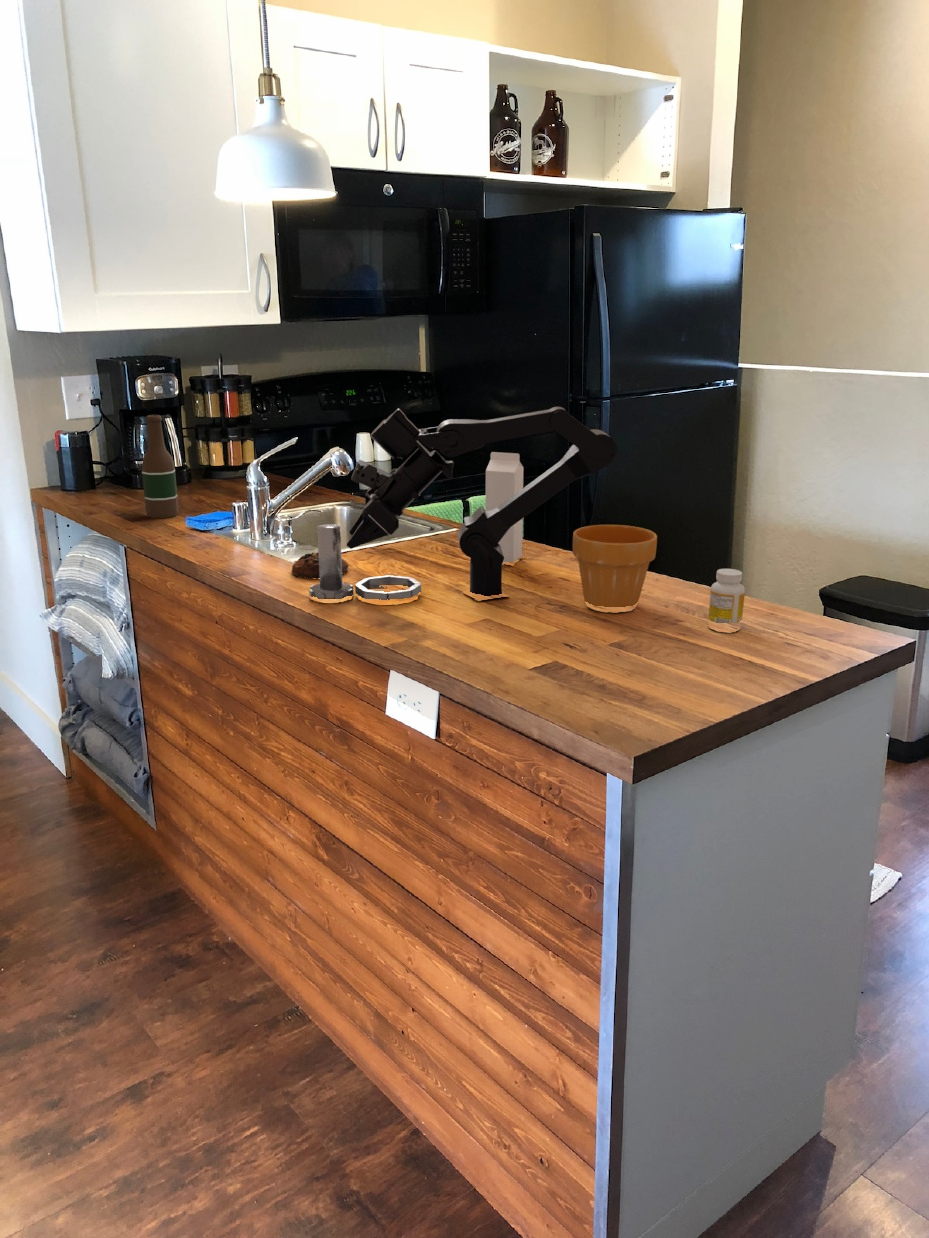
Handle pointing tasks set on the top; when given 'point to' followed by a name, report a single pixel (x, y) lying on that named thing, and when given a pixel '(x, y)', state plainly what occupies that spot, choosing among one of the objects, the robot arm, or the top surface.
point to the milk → (505, 497)
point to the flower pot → (613, 562)
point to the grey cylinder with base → (330, 565)
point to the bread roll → (311, 566)
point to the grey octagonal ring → (375, 582)
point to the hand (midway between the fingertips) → (349, 540)
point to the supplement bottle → (727, 597)
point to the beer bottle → (158, 474)
